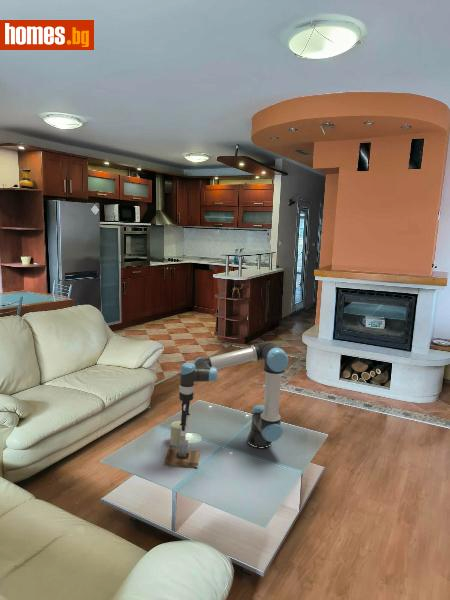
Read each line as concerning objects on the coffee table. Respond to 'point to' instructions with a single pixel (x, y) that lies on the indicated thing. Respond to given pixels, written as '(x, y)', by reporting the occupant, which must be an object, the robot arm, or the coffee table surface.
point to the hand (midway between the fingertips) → (184, 431)
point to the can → (176, 434)
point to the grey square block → (183, 449)
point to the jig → (174, 461)
